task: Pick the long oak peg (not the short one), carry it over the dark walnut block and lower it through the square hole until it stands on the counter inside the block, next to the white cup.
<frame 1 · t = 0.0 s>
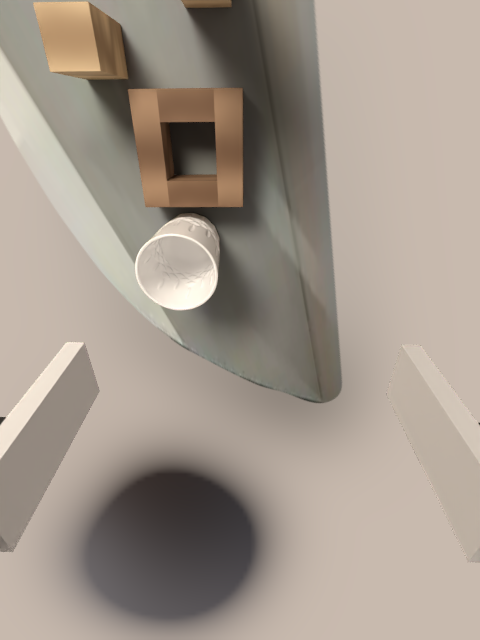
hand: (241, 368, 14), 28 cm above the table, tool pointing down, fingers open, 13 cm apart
walnut hole block: (195, 148, 35), on the table
short oak peg: (103, 52, 31), on the table
white cup: (192, 240, 40), on the table
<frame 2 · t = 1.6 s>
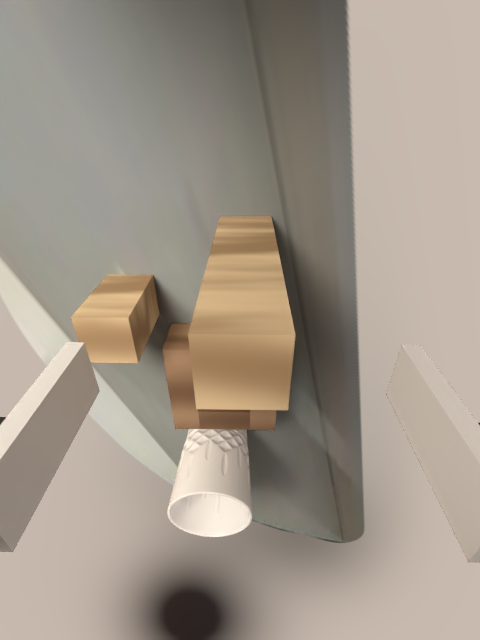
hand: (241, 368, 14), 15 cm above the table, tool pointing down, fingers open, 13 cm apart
walnut hole block: (225, 364, 34), on the table
long oak peg: (245, 241, 27), on the table
short oak peg: (134, 295, 30), on the table
white cup: (218, 427, 39), on the table
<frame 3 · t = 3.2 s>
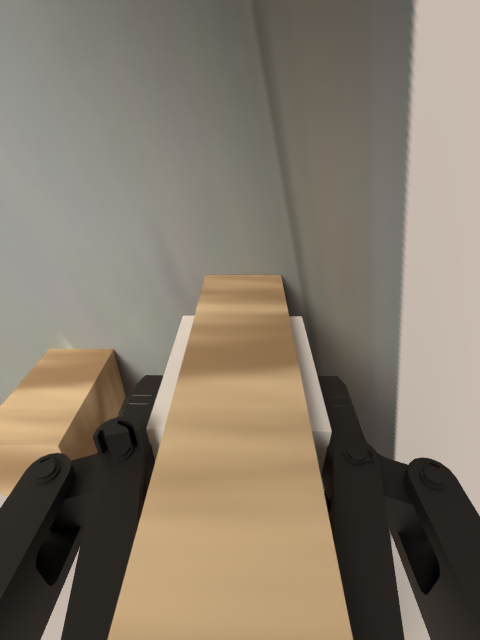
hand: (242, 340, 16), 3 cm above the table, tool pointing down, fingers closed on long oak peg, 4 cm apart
long oak peg: (243, 308, 19), on the table, touching gripper
short oak peg: (89, 373, 22), on the table
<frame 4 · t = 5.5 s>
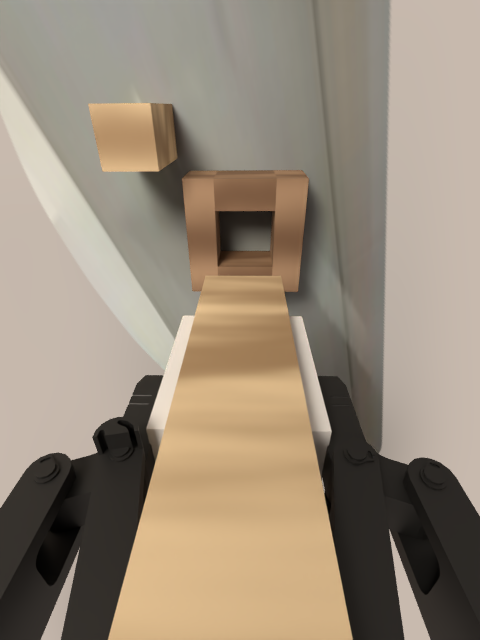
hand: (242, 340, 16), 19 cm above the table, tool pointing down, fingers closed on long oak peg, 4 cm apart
walnut hole block: (245, 226, 32), on the table
long oak peg: (243, 308, 19), point 16 cm above the table, touching gripper
short oak peg: (151, 132, 28), on the table
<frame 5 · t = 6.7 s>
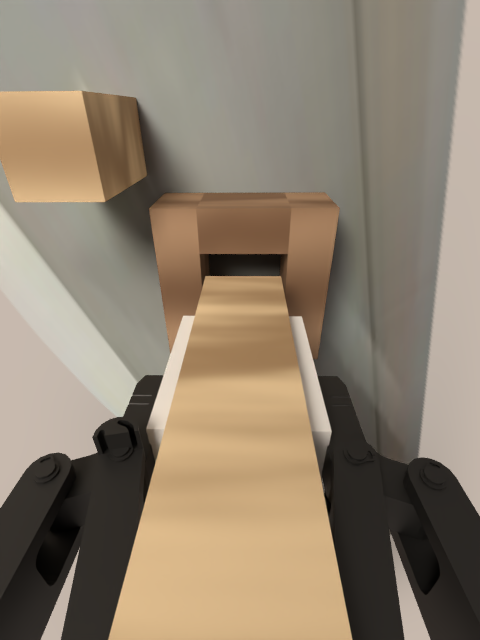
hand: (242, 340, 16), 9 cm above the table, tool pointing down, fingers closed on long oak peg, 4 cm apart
walnut hole block: (244, 267, 23), on the table
long oak peg: (243, 308, 19), point 6 cm above the table, touching gripper
short oak peg: (107, 139, 19), on the table
when the fingers open (6 cm above the table, at t = 7.6 s): long oak peg drops 3 cm, resting in walnut hole block.
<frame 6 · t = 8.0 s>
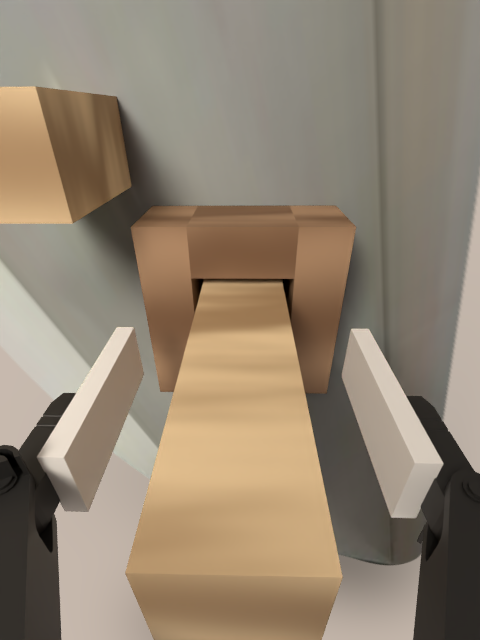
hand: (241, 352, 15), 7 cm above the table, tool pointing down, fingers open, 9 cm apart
walnut hole block: (243, 288, 21), on the table
long oak peg: (243, 287, 21), resting in walnut hole block
short oak peg: (85, 144, 17), on the table
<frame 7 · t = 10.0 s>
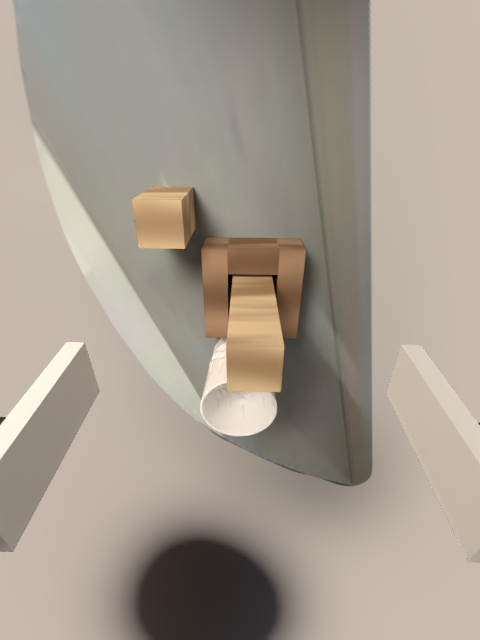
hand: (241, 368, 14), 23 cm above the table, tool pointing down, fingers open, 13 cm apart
walnut hole block: (251, 281, 38), on the table
long oak peg: (251, 281, 38), resting in walnut hole block
short oak peg: (174, 207, 34), on the table
white cup: (240, 351, 43), on the table
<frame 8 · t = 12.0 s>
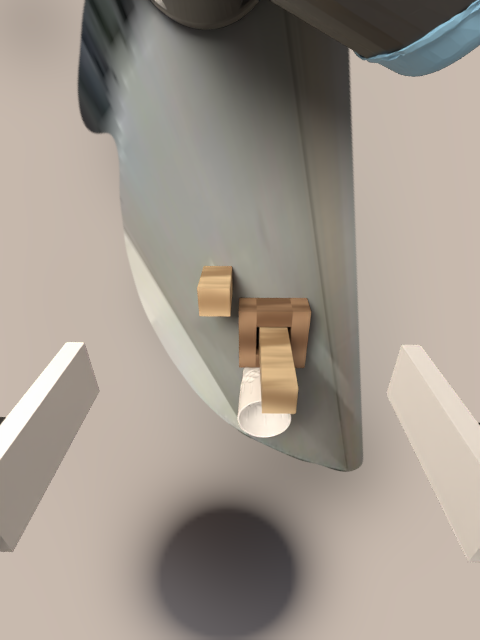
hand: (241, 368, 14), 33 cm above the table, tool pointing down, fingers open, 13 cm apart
walnut hole block: (271, 326, 52), on the table
long oak peg: (271, 326, 52), resting in walnut hole block
short oak peg: (218, 279, 48), on the table
white cup: (262, 373, 57), on the table
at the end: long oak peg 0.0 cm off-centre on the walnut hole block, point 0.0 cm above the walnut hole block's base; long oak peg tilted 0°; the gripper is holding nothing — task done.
